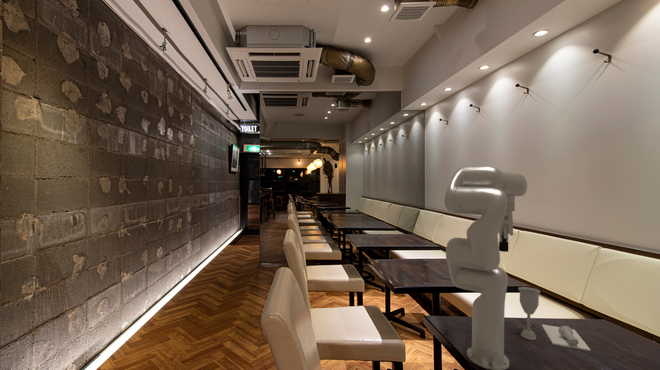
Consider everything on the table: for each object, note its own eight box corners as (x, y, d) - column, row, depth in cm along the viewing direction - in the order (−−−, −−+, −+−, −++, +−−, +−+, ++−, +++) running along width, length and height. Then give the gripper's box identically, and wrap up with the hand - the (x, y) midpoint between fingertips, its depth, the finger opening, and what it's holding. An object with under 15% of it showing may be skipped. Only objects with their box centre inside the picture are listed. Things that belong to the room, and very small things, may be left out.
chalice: (533, 332, 118) (534, 287, 118) (544, 341, 111) (544, 293, 111) (514, 331, 119) (514, 286, 119) (523, 340, 112) (524, 292, 112)
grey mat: (590, 351, 105) (590, 349, 105) (552, 344, 110) (552, 342, 110) (574, 330, 120) (574, 329, 120) (541, 325, 124) (541, 324, 124)
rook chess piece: (562, 337, 115) (571, 350, 107) (555, 327, 115) (563, 339, 108) (574, 333, 113) (584, 346, 106) (567, 323, 114) (576, 334, 106)
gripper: (517, 208, 115) (517, 256, 115) (511, 206, 129) (511, 248, 129) (495, 208, 118) (495, 254, 118) (492, 205, 132) (491, 246, 132)
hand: (503, 251), depth 124 cm, fingers closed
